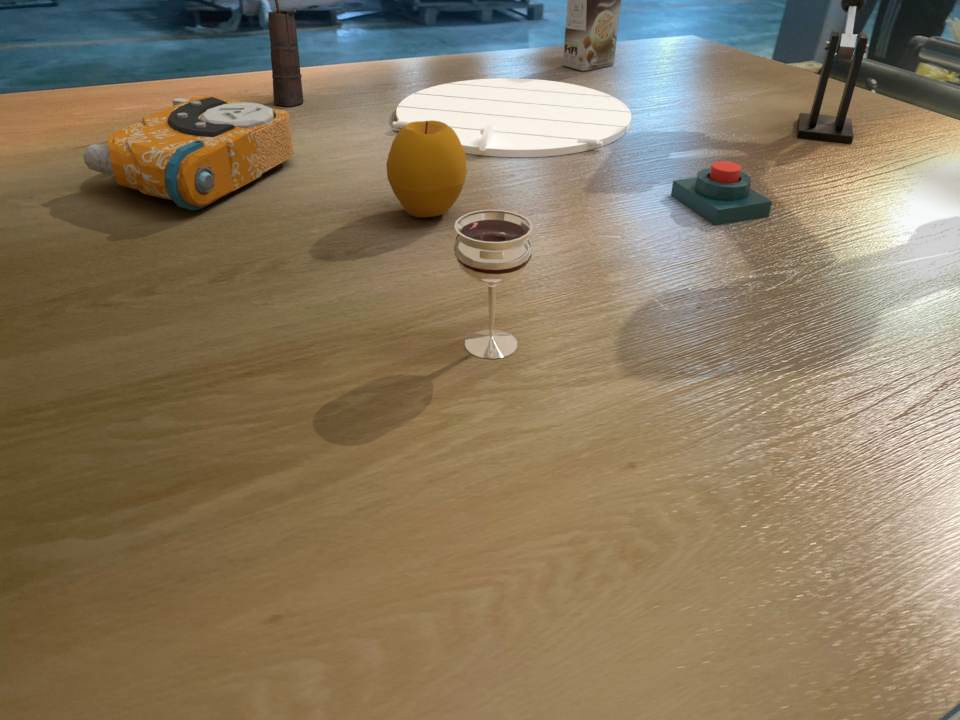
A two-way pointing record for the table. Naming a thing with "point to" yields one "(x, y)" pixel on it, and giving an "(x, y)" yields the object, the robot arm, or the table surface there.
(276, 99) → the butter churn
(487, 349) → the wineglass
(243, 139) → the device
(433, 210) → the apple
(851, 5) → the lever
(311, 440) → the table surface
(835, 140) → the bracket
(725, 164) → the button
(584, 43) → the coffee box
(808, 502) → the table surface
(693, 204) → the panel
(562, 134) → the lazy susan
